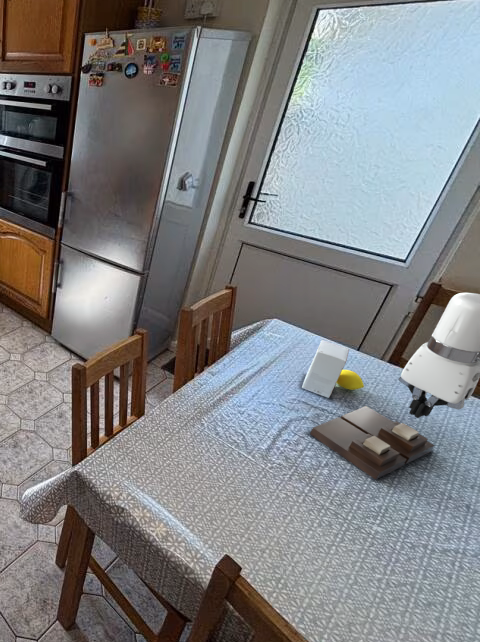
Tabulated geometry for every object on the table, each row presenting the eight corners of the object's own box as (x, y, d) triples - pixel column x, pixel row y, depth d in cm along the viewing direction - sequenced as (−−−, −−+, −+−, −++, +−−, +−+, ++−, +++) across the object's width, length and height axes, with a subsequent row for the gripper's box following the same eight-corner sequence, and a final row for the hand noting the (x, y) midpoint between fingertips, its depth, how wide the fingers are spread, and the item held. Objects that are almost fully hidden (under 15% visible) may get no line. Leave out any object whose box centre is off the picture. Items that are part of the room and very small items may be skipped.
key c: (416, 437, 98) (419, 432, 97) (407, 441, 97) (411, 436, 96) (399, 428, 101) (402, 422, 100) (391, 431, 100) (394, 426, 99)
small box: (329, 398, 115) (346, 361, 109) (301, 388, 119) (317, 351, 113) (332, 384, 120) (349, 348, 115) (306, 375, 124) (321, 339, 119)
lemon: (326, 383, 121) (332, 368, 119) (335, 377, 123) (342, 362, 121) (355, 397, 115) (362, 382, 113) (364, 391, 117) (372, 376, 115)
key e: (387, 451, 95) (390, 445, 94) (378, 455, 94) (382, 450, 93) (371, 440, 97) (374, 435, 96) (362, 444, 96) (365, 439, 96)
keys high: (402, 466, 95) (410, 453, 93) (375, 479, 92) (383, 467, 90) (335, 423, 107) (341, 411, 105) (309, 434, 104) (315, 422, 102)
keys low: (430, 451, 98) (438, 439, 97) (405, 464, 95) (413, 452, 94) (362, 411, 110) (368, 400, 109) (338, 422, 107) (343, 410, 106)
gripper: (515, 365, 82) (471, 432, 90) (419, 327, 95) (388, 389, 103) (494, 374, 80) (450, 442, 88) (399, 334, 93) (368, 397, 101)
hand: (417, 414), depth 95 cm, fingers closed
